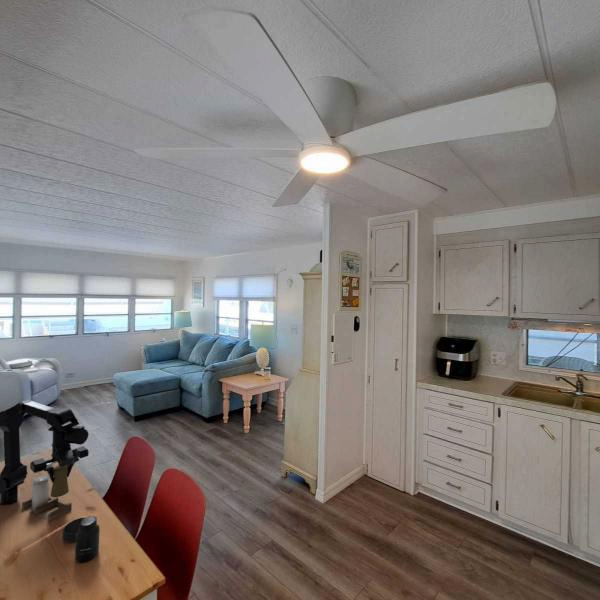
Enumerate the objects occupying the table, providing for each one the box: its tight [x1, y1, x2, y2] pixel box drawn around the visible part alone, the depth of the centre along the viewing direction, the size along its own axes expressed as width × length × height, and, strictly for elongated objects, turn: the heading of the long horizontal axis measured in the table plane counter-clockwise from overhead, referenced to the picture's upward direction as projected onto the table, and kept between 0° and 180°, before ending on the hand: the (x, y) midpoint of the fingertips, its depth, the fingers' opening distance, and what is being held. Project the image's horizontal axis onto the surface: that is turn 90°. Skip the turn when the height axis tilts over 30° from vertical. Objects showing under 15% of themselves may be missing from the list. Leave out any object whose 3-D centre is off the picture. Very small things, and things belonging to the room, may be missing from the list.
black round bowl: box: [62, 517, 85, 543], centre depth 121 cm, size 9×9×4 cm
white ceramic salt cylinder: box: [31, 475, 50, 510], centre depth 136 cm, size 6×6×11 cm
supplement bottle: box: [74, 515, 101, 564], centre depth 111 cm, size 7×7×12 cm
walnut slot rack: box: [21, 495, 72, 522], centre depth 134 cm, size 19×8×3 cm, turn 66°
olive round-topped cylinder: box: [50, 464, 70, 498], centre depth 135 cm, size 6×6×11 cm
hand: (60, 479), depth 135 cm, fingers closed on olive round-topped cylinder, 5 cm apart
